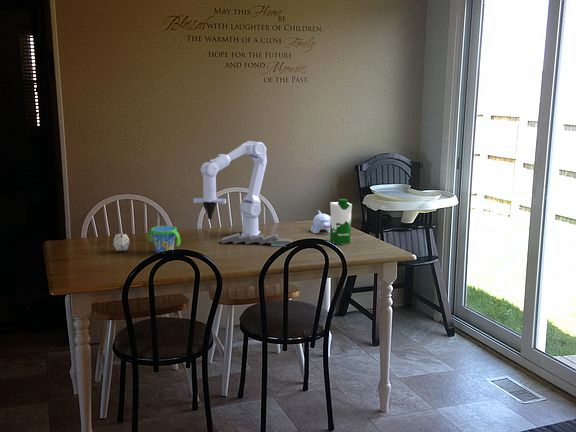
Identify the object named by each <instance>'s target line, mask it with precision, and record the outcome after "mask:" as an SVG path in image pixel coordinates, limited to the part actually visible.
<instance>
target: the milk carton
mask: <svg viewBox="0 0 576 432" xmlns="http://www.w3.org/2000/svg"><path fill="white" fill-rule="evenodd" d="M329 206H330V217H331V219H330V232H329V235H330V236H329V238H330V239H329V242H331V241H332V242H331V243H333V242H334V243H335V244H334V243H333V244H334V245H343V244H342V243H349V244H351V234H352V233H351V231H352V208H353V204H352V203H349V202H348V199H347V198H338V201H336V202H335V201H331V202H329Z"/></svg>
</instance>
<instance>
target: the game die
mask: <svg viewBox="0 0 576 432" xmlns="http://www.w3.org/2000/svg"><path fill="white" fill-rule="evenodd" d="M132 242H133V240H130V238H129V236H128V232H125V233H115V232H114V238H113V241H111V242H110V244H111V245H112V246H113V247H114V249H115V253H118V252H121V251H123V252H124V251H127V252H128V253H129V247H130V244H131V243H132Z"/></svg>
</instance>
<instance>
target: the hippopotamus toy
mask: <svg viewBox="0 0 576 432" xmlns="http://www.w3.org/2000/svg"><path fill="white" fill-rule="evenodd" d="M317 212H318V214H316V215H315V216H314V217H313V220H312V221H313V224H312V225H311V228H310V230H309V231H310V232H312V233H313V234H319V233H321V232H320V231H321V229H323V230H324V231H326V232H327V233H330V219H331V215H329V214H326V213H322V212H321V211H320V210H319V209H317Z"/></svg>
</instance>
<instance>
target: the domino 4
mask: <svg viewBox="0 0 576 432" xmlns="http://www.w3.org/2000/svg"><path fill="white" fill-rule="evenodd" d="M277 238H280V236H279V233H273V234H272V235H271V234H270V235H268V236H266V237H264V238H263V240H260V241H258V243H259V245H260V246H261V245H264V244H267V243H268V242H273V240H275V239H277Z"/></svg>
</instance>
